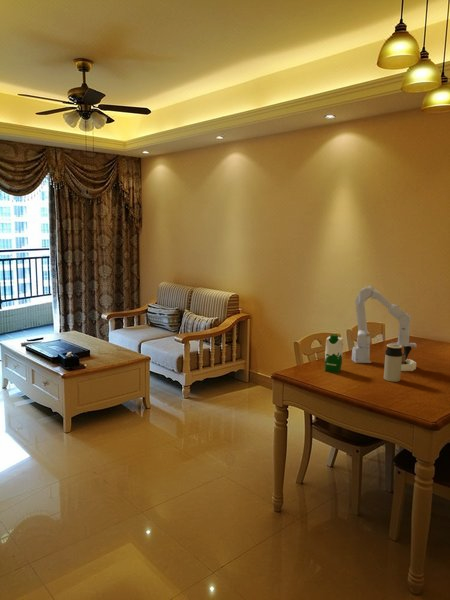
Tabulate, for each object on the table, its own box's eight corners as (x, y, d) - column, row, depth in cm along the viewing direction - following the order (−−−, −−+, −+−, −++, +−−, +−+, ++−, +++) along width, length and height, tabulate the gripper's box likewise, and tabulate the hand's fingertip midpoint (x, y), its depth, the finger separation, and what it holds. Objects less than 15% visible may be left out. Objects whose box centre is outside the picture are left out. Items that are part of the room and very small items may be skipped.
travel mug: (403, 381, 236) (405, 347, 233) (388, 382, 235) (391, 347, 232) (394, 377, 244) (397, 343, 241) (380, 377, 242) (383, 343, 240)
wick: (404, 367, 260) (405, 354, 259) (401, 367, 260) (402, 354, 259) (401, 365, 264) (402, 353, 263) (398, 365, 264) (399, 353, 262)
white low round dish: (419, 370, 255) (419, 364, 255) (394, 370, 254) (395, 364, 254) (407, 363, 269) (408, 357, 269) (384, 363, 268) (384, 357, 268)
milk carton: (323, 371, 251) (324, 335, 248) (326, 367, 259) (328, 332, 256) (339, 373, 247) (341, 337, 244) (342, 369, 255) (344, 333, 252)
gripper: (394, 337, 255) (392, 361, 257) (419, 337, 256) (417, 361, 258) (388, 334, 262) (387, 357, 264) (413, 334, 263) (412, 357, 265)
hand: (401, 359), depth 261 cm, fingers open, 3 cm apart
